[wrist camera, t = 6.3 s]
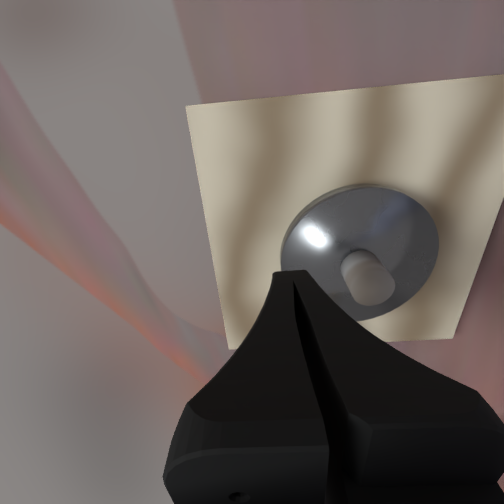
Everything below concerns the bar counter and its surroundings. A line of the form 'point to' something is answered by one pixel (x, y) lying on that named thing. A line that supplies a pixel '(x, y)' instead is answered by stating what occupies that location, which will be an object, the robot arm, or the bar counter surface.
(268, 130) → the base
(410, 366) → the robot arm
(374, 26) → the bar counter surface
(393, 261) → the flange
